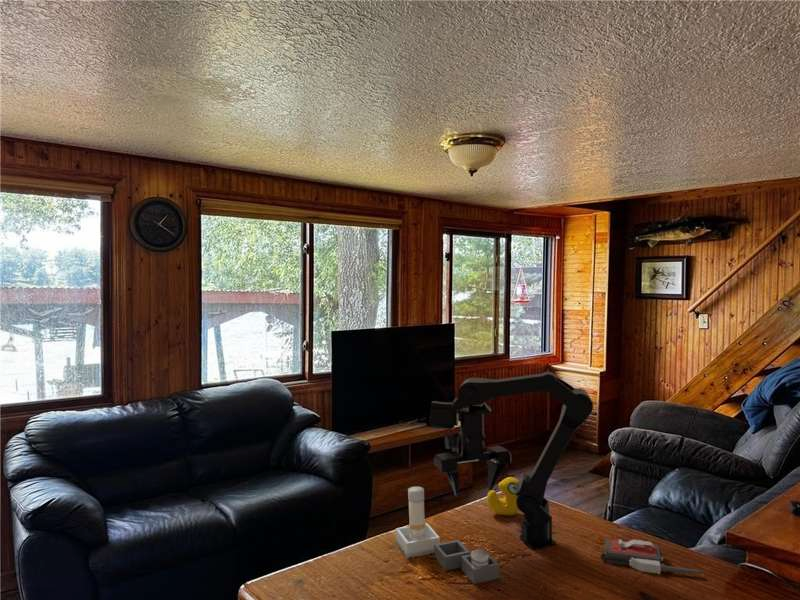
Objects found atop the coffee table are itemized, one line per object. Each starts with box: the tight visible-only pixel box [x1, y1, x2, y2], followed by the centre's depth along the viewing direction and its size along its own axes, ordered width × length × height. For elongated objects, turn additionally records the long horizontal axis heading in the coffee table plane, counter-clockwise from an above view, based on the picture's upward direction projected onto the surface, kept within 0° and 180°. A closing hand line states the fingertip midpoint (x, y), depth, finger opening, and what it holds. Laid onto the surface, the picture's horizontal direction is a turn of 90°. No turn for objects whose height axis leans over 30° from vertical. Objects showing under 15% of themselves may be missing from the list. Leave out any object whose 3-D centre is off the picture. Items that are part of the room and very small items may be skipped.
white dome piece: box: [470, 548, 490, 568], centre depth 120 cm, size 4×4×4 cm
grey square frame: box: [434, 539, 471, 571], centre depth 125 cm, size 6×6×3 cm
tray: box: [395, 522, 441, 559], centre depth 132 cm, size 8×8×4 cm
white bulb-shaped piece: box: [407, 486, 426, 542], centre depth 132 cm, size 4×4×13 cm
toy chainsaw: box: [599, 538, 702, 575], centre depth 123 cm, size 9×4×20 cm
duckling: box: [486, 476, 520, 516], centre depth 149 cm, size 11×5×10 cm, turn 88°
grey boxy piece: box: [460, 553, 501, 585], centre depth 120 cm, size 6×6×3 cm
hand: (473, 492), depth 137 cm, fingers open, 9 cm apart
